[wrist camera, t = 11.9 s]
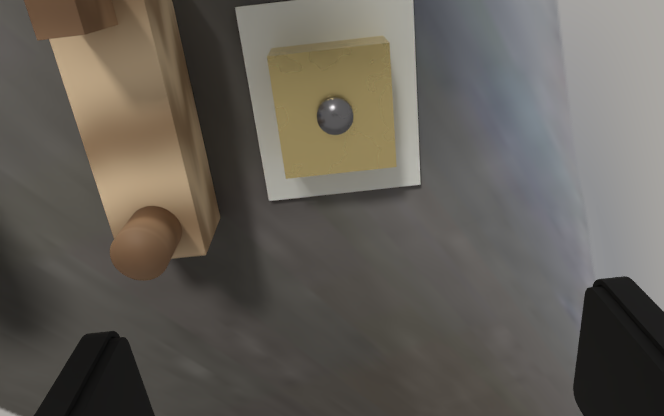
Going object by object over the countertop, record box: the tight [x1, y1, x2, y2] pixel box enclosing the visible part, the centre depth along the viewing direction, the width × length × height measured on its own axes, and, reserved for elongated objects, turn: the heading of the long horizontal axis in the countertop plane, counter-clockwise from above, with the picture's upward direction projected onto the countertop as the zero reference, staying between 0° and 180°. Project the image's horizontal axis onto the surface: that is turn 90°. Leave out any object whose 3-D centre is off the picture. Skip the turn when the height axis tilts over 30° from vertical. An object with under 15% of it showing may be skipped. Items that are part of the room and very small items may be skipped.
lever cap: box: [267, 36, 397, 179], centre depth 30 cm, size 7×6×4 cm
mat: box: [235, 0, 421, 201], centre depth 32 cm, size 12×10×1 cm
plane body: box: [24, 0, 220, 280], centre depth 28 cm, size 16×5×9 cm, turn 6°
